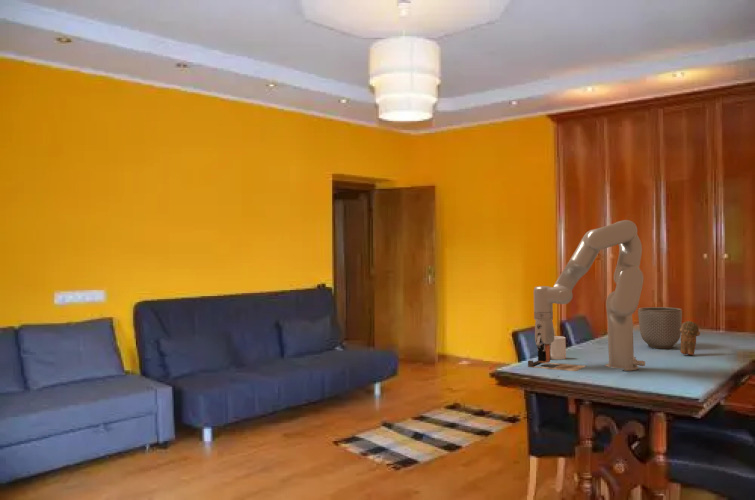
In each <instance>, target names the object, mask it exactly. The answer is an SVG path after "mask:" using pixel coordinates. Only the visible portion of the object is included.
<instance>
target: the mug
mask: <svg viewBox="0 0 755 500" xmlns="http://www.w3.org/2000/svg"><path fill="white" fill-rule="evenodd" d="M566 344H567V343H566V337H565V336H560V335H559V336H558V335H554V342H552V343H551V345H550V346H551V349H550V353H551V359H550V360H565V359H567V352H566V351H567V346H566Z"/></svg>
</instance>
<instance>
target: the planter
mask: <svg viewBox="0 0 755 500" xmlns="http://www.w3.org/2000/svg"><path fill="white" fill-rule="evenodd" d="M637 318H638V326H639V333H640V336H641V339H642V341H644V342H645V343H646V344H647V346H648V347H649V348H650V349H654V348H655V349H657V350H671V349H673V348H674V345H675V344H677V343H678V342H679V341H680V340H681V335H682V333H681V331H680V328H681V326H682V324H683V322H682V321H683V309H682V308H678V307H666V306H665V307H664V306H662V307H661V306H655V307H654V306H651V307H649V306H648V307H647V306H646V307H639V308H637ZM655 349H654V350H655Z"/></svg>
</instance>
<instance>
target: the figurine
mask: <svg viewBox="0 0 755 500" xmlns="http://www.w3.org/2000/svg"><path fill="white" fill-rule="evenodd" d="M680 331H681V335H680V351H679V352H680V353H681V354H683V355H689V356H693V355H695V351H696V344H697V337H698V336H700V335H701V332H700V329H699V326H698V324H697V323H695V322H693V321H691V320H688V321H685V322H682V326H681V328H680Z"/></svg>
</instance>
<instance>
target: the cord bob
mask: <svg viewBox="0 0 755 500" xmlns="http://www.w3.org/2000/svg"><path fill="white" fill-rule="evenodd" d="M542 347H543V345H542ZM545 351H546V361H539V362H545V363H551V359H550V345H549V344H545Z"/></svg>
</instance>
